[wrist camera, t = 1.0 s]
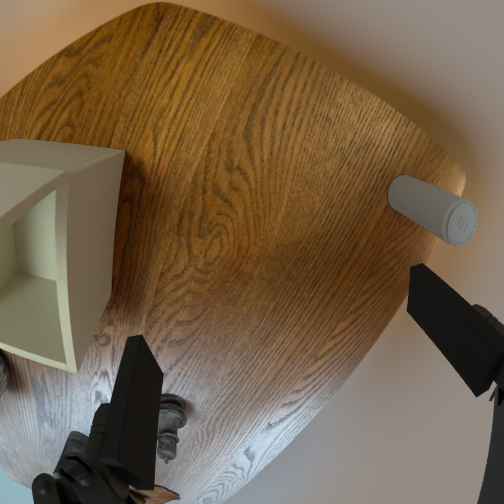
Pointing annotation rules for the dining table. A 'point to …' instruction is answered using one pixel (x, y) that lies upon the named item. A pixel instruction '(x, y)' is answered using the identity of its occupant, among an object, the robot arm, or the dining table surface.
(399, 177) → the beverage can
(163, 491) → the cutting board
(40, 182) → the box lid
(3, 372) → the planter
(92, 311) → the cream box
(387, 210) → the dining table surface
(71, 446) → the beverage cup
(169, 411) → the chess piece
